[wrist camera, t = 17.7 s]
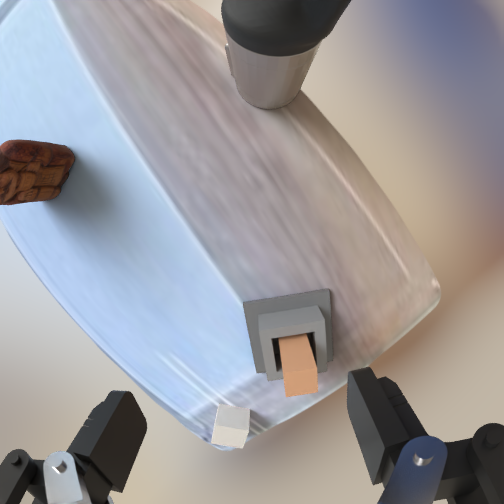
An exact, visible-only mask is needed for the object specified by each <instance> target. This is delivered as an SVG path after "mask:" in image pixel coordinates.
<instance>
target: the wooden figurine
mask: <svg viewBox="0 0 504 504" xmlns="http://www.w3.org/2000/svg"><path fill="white" fill-rule="evenodd" d="M74 161H75V157H74V154H73V153H72V152H71V150H70V149H68V148H67V146H65V145H59V144H53V143H48V142H39V141H31V140H9V141H6V142H4V143H3V144H2V145H1V146H0V205H14V204H20V203H27V202H37V201H46V200H50V199H53V198H55V197H56V196H58V195H59V193H60V192H61V186H62V185H63V184H64V182H65V181H66V179H67V178H68V176H69V169H70V167H71V166H72V164H73V162H74Z"/></svg>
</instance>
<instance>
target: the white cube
mask: <svg viewBox="0 0 504 504" xmlns="http://www.w3.org/2000/svg"><path fill="white" fill-rule="evenodd" d="M249 423H250V409H247V408H241V407H235V406H230V405H225V404H219V405H218V410H217V414H216V419H215V423H214V429H213V435H212V441H211V443H213V444H218V445H224V446H230V447H236V448H243V446H244V444H245V441H246V438H247V435H248V433H249Z"/></svg>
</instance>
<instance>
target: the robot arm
mask: <svg viewBox="0 0 504 504" xmlns="http://www.w3.org/2000/svg"><path fill="white" fill-rule="evenodd" d="M350 2H351V0H223V2H222V7H221V12H222V18H223V23H224V28H225V32H226V37H227V41H228V43H227V44H226V45H225V50H226V54H227V59H228V63H229V67H230V71H231V75H232V76H233V77H234V78H235V80H236V85H237V89H238V91H239V93H240V95H241V96H242V98H243V99H245V100H246V101H247V102H248V103H250V104H251V105H253V106H256V107H259V108H263V109H275V108H280V107H283V106H285V105H287V104H288V103H290V102H291V101H292V100H293V99H294V98H295V97H296V95H297V94H298V92H299V90H300V88H301V85H302V83H303V81H304V79H305V77H306V74H307V72H308V70H309V68H310V66H311V63H312V61H313V59H314V56H315V55H316V52H317V50H318V48H319V46H320V43H321V42H322V39H324V38H325V37H327V36H328V35H329V34H330V32H331V31H332V30H333V28H334V26H335V24H336V23H337V21H338V20H339V18H340V17H341V15H342V13H343V12H344V10H345V9H346V8H347V6H348V4H349V3H350ZM347 409H348V414H349V417H350V420H351V423H352V425H353V429H354V431H355V434H356V437H357V440H358V443H359V445H360V448H361V451H362V454H363V457H364V460H365V463H366V466H367V469H368V472H369V475H370V478H371V481H372V484H373V485H375V484H379V483H381V482H382V483H383V485H384V488H385V490H384V491H383V493H382V496H381V497H380V499H379V501H378V503H377V504H432V503H433V501H436V500H441V499H447V501H448V504H504V426H503V425H501V424H497V423H489V424H486V425H484V426H482V427H480V428H479V429H478V430H477V431H476V433H475V434H474V436H473V438H470V439H465V440H460V441H455V442H443V441H441V440H440V439H439V438H436V437H433V436H429V435H428V434H427V432H426V431H425V429H424V428H423V426H422V424H421V423H420V421H419V419H418V418H417V416H416V414H415V413H414V411H413V409H412V408H411V406H410V405H409V403H408V402H407V400H406V398H405V397H404V395H403V393H402V392H401V390H400V389H399V387H398V385H397V384H396V383H395V382H393V381H392V380H390V379H389V378H387V377H382V378H379V379H377V378H376V376H375V374H374V373H373V371H372V369H371V368H370V367H366V368H362V369H358V370H353V371H349V372H348V388H347ZM146 431H147V422H146V419H145V417H144V415H143V413H142V411H141V409H140V407H139V405H138V404H137V402H136V400H135V398H134V396H133V394H132V393H131V392H129V391H115V390H113V391H111V392H110V393H109V394H108V396H107V398H106V399H105V401H104V402H101V403H100V404H99V405H98V406H96V407H95V408H94V409H93V410H92V412H91V414H90V415H89V416H88V419H87V420H86V421H85V423H84V426H83V427H82V428H81V429H80V431H79V432H78V434H77V435H76V437H75V438H74V440H73V442H72V443H71V445H70V446H69V448H68V450H67V451H66V452H65V451H58V452H54V453H52V454H51V455H49V456H48V457H47V458H46V460H33V459H32V458H31V457H30V456H29V455H28V454H27V452H25V451H24V450H22V449H16V450H13V451H11V452H10V453H9V454H8V455H7V456H6V457H5V459H4V460H3V462H2V463H1V465H0V504H19V503H20V502H21V499H22V498H23V496H24V494H25V492H26V490H27V491H28V492H29V493H30V494H31V495H33V496H34V497H35V498H34V501H33V503H32V504H114V503H113V500H112V498H111V497H110V496H109V493H110V491H111V490H113V491H117V492H121V493H122V492H123V489H124V487H125V484H126V481H127V479H128V477H129V474H130V471H131V469H132V466H133V464H134V461H135V459H136V456H137V454H138V451H139V449H140V446H141V444H142V441H143V439H144V436H145V434H146Z"/></svg>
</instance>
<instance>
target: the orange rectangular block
mask: <svg viewBox="0 0 504 504" xmlns="http://www.w3.org/2000/svg"><path fill="white" fill-rule="evenodd" d="M278 339H279V347H280V355H281V362H282V370H283V377H284V385H285V393H286V397H290V396H297V395H303V394H309V393H315V392H318V379H317V366H316V363H315V360H314V356H313V353H312V350H311V347H310V344H309V341H308V338H307V334H306V333H303V334H297V335H291V336H285V337H278Z"/></svg>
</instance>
